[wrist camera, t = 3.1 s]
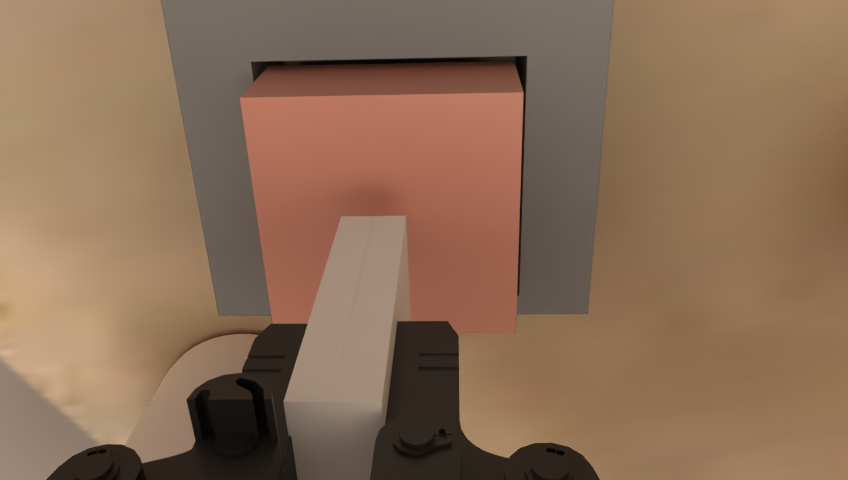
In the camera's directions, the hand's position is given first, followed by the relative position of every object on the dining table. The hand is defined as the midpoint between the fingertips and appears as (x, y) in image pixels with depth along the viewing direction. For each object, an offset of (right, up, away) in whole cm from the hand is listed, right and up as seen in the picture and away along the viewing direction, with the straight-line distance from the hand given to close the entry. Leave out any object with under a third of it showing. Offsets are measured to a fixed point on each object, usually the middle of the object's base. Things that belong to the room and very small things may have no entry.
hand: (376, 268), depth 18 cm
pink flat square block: (0, +3, +5) cm, 6 cm away
